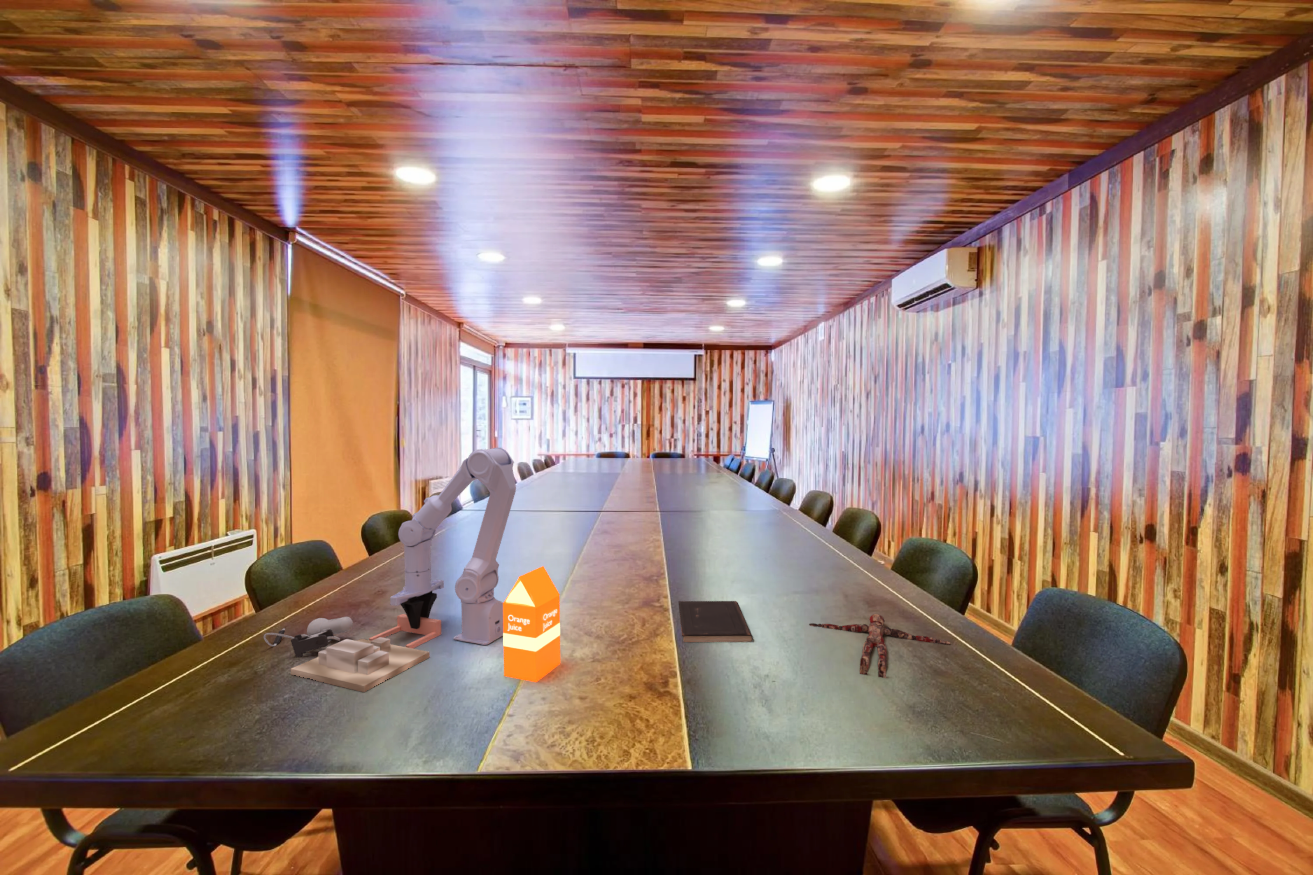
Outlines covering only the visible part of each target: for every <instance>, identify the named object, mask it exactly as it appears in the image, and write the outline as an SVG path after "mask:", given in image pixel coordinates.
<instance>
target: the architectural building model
mask: <svg viewBox="0 0 1313 875" xmlns="http://www.w3.org/2000/svg"><path fill="white" fill-rule="evenodd" d="M430 656H431V655H430V651H429V650H422V649H417V648H413V649H412V648H407V647H406V646H401V645H396V644H391V638H387V637H385V638H382V637H379V638H377V639H375V640H373V641H370V640H369V639H365V638H359V639H358V640H352V639H349V638H346V639H343V640H340V641H339V642H336V643H334V644H331V645H328V646H326V647H325V649H322V650H320V651H318V654H317V657H315V658H313V659H310V660H308V661H306V662H305V661H304V662H303V663H301V664H299V665H296V666H294V667H291V668H290V675H291V676H294V675H296V676H295V677H299V676H300V677H299V678H303V677H304V678H303V679H307V678H310V679H309V680H311V679H313V680H312V681H315V680H316V682H320V683H323V682H324V684H327V685H333V686H337V687H341V688H344V689H348V690H352V691H358V692H360V693H365V692H368V691H370V690H371V689H373V688H375V687H377V686H379V685H380V683H381V684H383V683H384V682H386V681H387V679H388V680H390V679H392V678H394V677H396V676H397V675H399V674H402V673H403V672H405V671H406V670H409V669H411V668H412V667H415V666H416V665H418V664H421V663H422V662H424V661H426V660H427V659H429V658H430ZM408 668H409V669H408ZM389 678H390V679H389ZM385 680H386V681H385ZM382 682H383V683H382ZM378 684H379V685H378ZM376 685H377V686H376ZM374 686H375V687H374ZM367 690H368V691H367Z"/></svg>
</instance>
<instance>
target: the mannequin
mask: <svg viewBox="0 0 1313 875" xmlns="http://www.w3.org/2000/svg"><path fill="white" fill-rule="evenodd" d="M868 619H869V620H868V621H869V622H870V623H869V625H868V624H866V623H863V624H859V623H858V624H857V623H856V624H855V623H853V624H845V625H838V624H831V623H813V622H812V623H811V622H810V623H809V624H808V626H810V627H816V628H817V627H819V628H821V629H822V628H823V629H828V630H836V631H844V632H852V633H862V632H864V633H867V632H868V636H866V640H865V642H863V646H862V651H861V652H862V653H861V658H860V660H859V674H860V675H865V676H868V671H869V668H870V662H871V661H870V656H871V654H872V651H873V649H874V648H876V650H877V654H878V659H877V671H878V672H877V676H878V678H883V679H886V678H887V667H888V666H887V665H888V664H887V662H888V660H887V654H888V651H887V649H888V648H887V645H886V642H885V639H884V635H886V636H891V637H894V638H896V639H902V640H910V641H917V642H923V643H930V644H940V645H944V646H945V645H946V646H947V645H951V642H950V641H947V640H943V639H941V640H940V639H938V638H934V637H931V636H927V635H926V636H923V635H915V634H911V633H908V632H906V631H902V630H900V629H897V628H891V627H888V626H886V627H884V624H885V621H886V620H885V618H884V617H883V616H882V615H881V614H878V613H875V614H872V615H870V616H869V618H868Z"/></svg>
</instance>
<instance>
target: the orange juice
mask: <svg viewBox="0 0 1313 875" xmlns="http://www.w3.org/2000/svg"><path fill="white" fill-rule="evenodd" d="M560 595H561V594H560V593H559V591H558V589H557V587H556V585H555V583H554V581H553V580H552V578H551V577H550V575H549V573H548V571H547V570H546V568H545V567H544V565H542V566H540V567H537V568H535V569H534V570H531V571H528V572H526V573H524V574H522V575H520V576H519V575H518V578H517V580H516V581H515V584H513V587H512V588H511V590H510V592H509V593H508V594H507V596H506V598H505V599H504V602H502V603H503V636H502V639H503V640H502V644H503V645H502V646H503V676H504V677H507V678H512V679H518V680H522V681H527V682H532V683H538V682H539V681H540V680H542V678H544V677H546V675H548V674H549V673H551V672H552V671H553V670H554V669H555V668H557V667H558V666H560V665H561V620H560V619H561V610H560V609H561V608H560V605H561V604H560Z"/></svg>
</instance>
